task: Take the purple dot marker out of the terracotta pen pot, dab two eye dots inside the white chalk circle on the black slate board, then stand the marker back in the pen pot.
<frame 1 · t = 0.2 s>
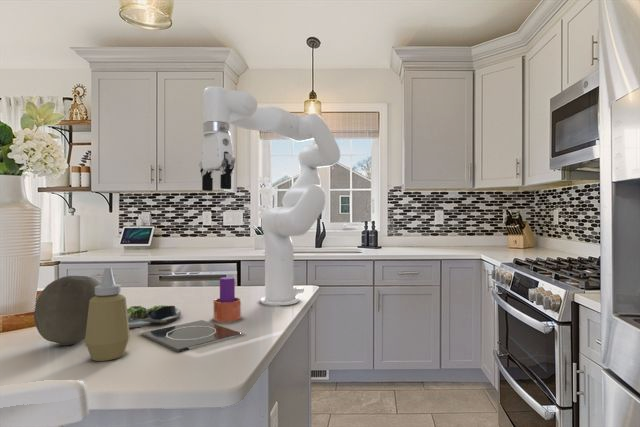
hand: (216, 189, 115), 36 cm above the countertop, tool pointing down, fingers open, 9 cm apart
pen pot: (227, 319, 110), on the countertop
squeeze bottle: (107, 357, 81), on the countertop
salad plate: (149, 321, 109), on the countertop
slate board: (191, 335, 95), on the countertop
dot marker: (227, 318, 110), resting on pen pot
cantaloupe: (72, 343, 90), on the countertop
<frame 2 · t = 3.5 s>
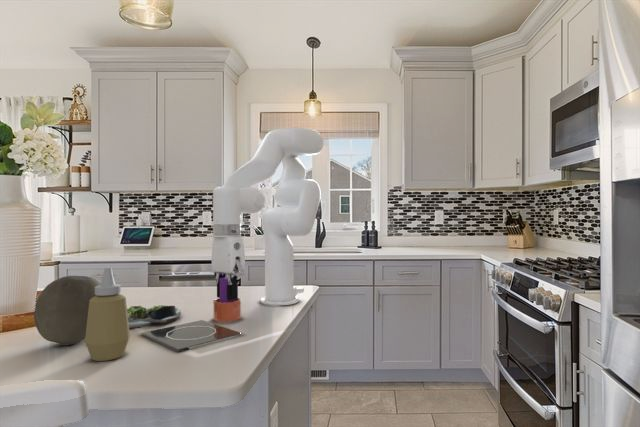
hand: (227, 297, 110), 6 cm above the countertop, tool pointing down, fingers closed on dot marker, 4 cm apart
dot marker: (227, 318, 110), point 1 cm above the countertop, touching gripper, pen pot
everything else where it was.
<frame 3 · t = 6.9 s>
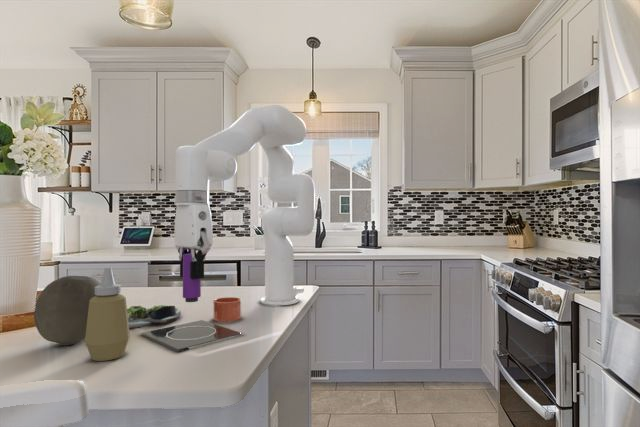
hand: (191, 276, 93), 14 cm above the countertop, tool pointing down, fingers closed on dot marker, 4 cm apart
dot marker: (191, 301, 93), point 9 cm above the countertop, touching gripper
everything else where it was.
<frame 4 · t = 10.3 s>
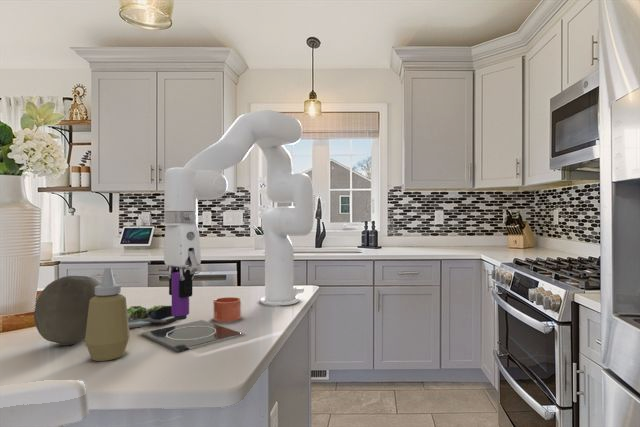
hand: (180, 294, 96), 10 cm above the countertop, tool pointing down, fingers closed on dot marker, 4 cm apart
dot marker: (180, 318, 96), point 4 cm above the countertop, touching gripper
everything else where it was.
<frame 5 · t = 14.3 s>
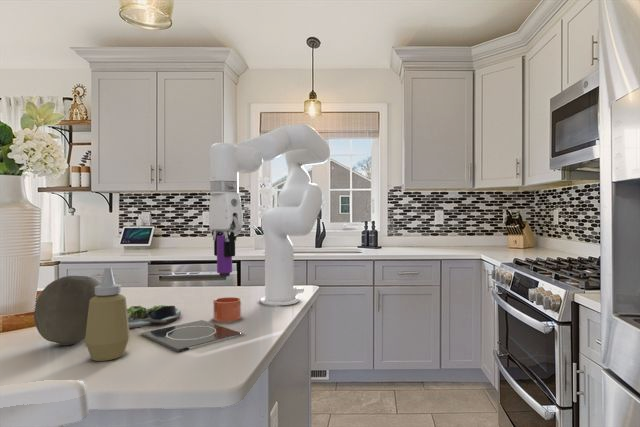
hand: (224, 255, 109), 18 cm above the countertop, tool pointing down, fingers closed on dot marker, 4 cm apart
dot marker: (224, 275, 109), point 12 cm above the countertop, touching gripper
everything else where it was.
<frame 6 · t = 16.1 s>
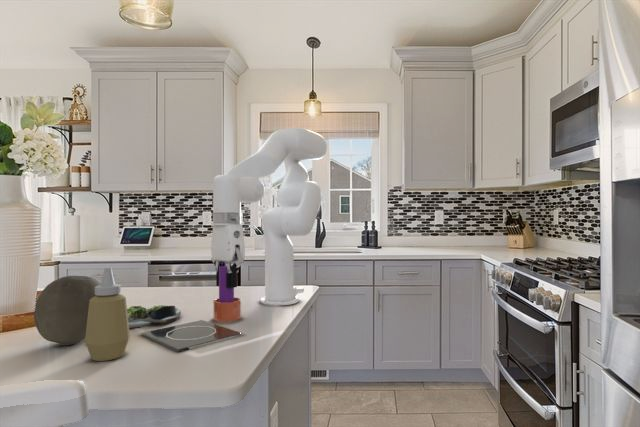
hand: (226, 285, 109), 9 cm above the countertop, tool pointing down, fingers closed on dot marker, 4 cm apart
dot marker: (226, 306, 109), point 4 cm above the countertop, touching gripper
everything else where it was.
when the fingers open (6 cm above the countertop, at t = 17.3 s): dot marker stays where it is, resting on pen pot.
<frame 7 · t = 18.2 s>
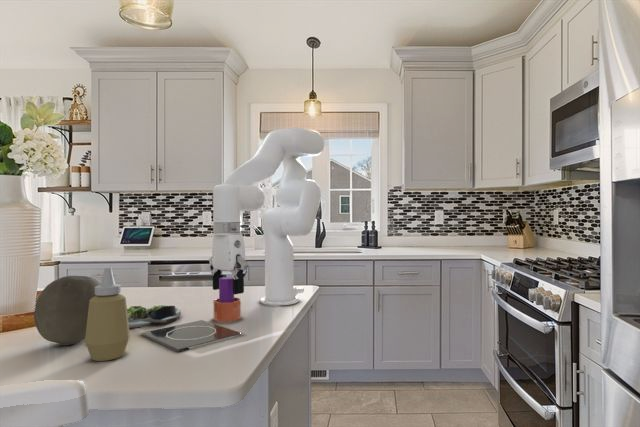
hand: (227, 291, 110), 8 cm above the countertop, tool pointing down, fingers open, 9 cm apart
dot marker: (226, 318, 109), resting on pen pot
everything else where it was.
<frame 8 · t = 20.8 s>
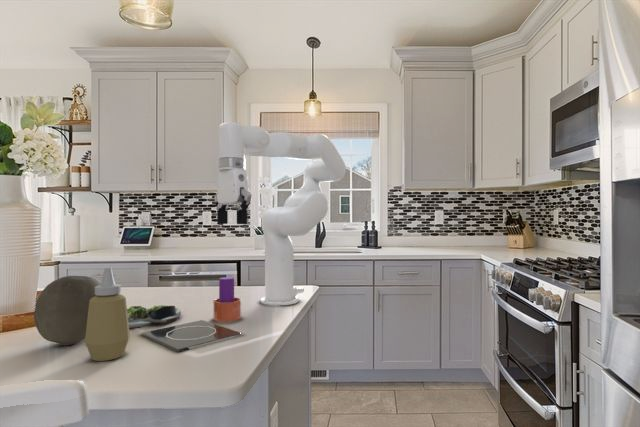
hand: (232, 223, 117), 26 cm above the countertop, tool pointing down, fingers open, 9 cm apart
nothing on the countertop moved.
at the end: dot marker 0.2 cm off-centre in the pen pot, point 0.5 cm above the pen pot's base; dot marker tilted 0°; the gripper is holding nothing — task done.
